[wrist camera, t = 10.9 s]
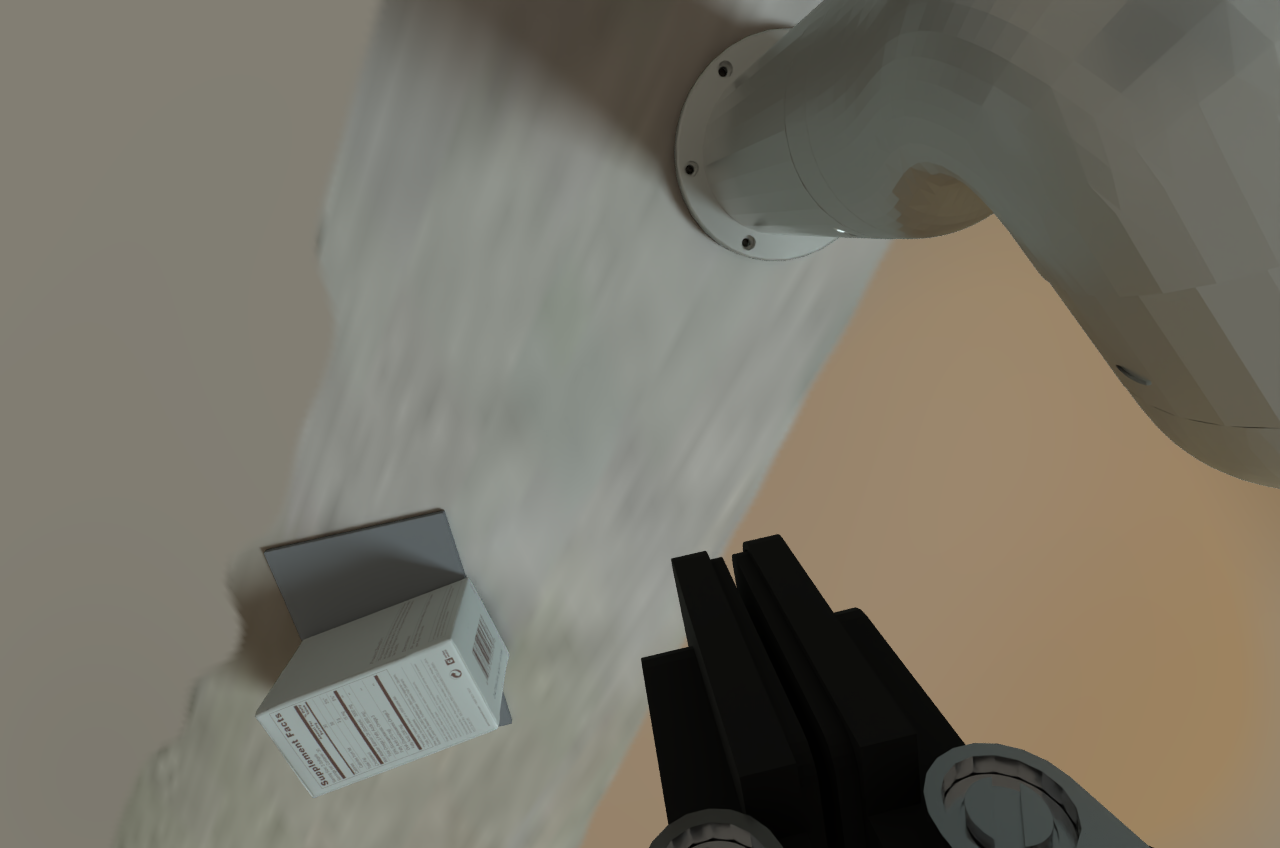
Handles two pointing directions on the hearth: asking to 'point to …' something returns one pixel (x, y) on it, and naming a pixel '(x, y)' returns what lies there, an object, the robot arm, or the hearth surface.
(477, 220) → the hearth surface
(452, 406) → the hearth surface
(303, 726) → the supplement box
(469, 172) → the hearth surface
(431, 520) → the mat
